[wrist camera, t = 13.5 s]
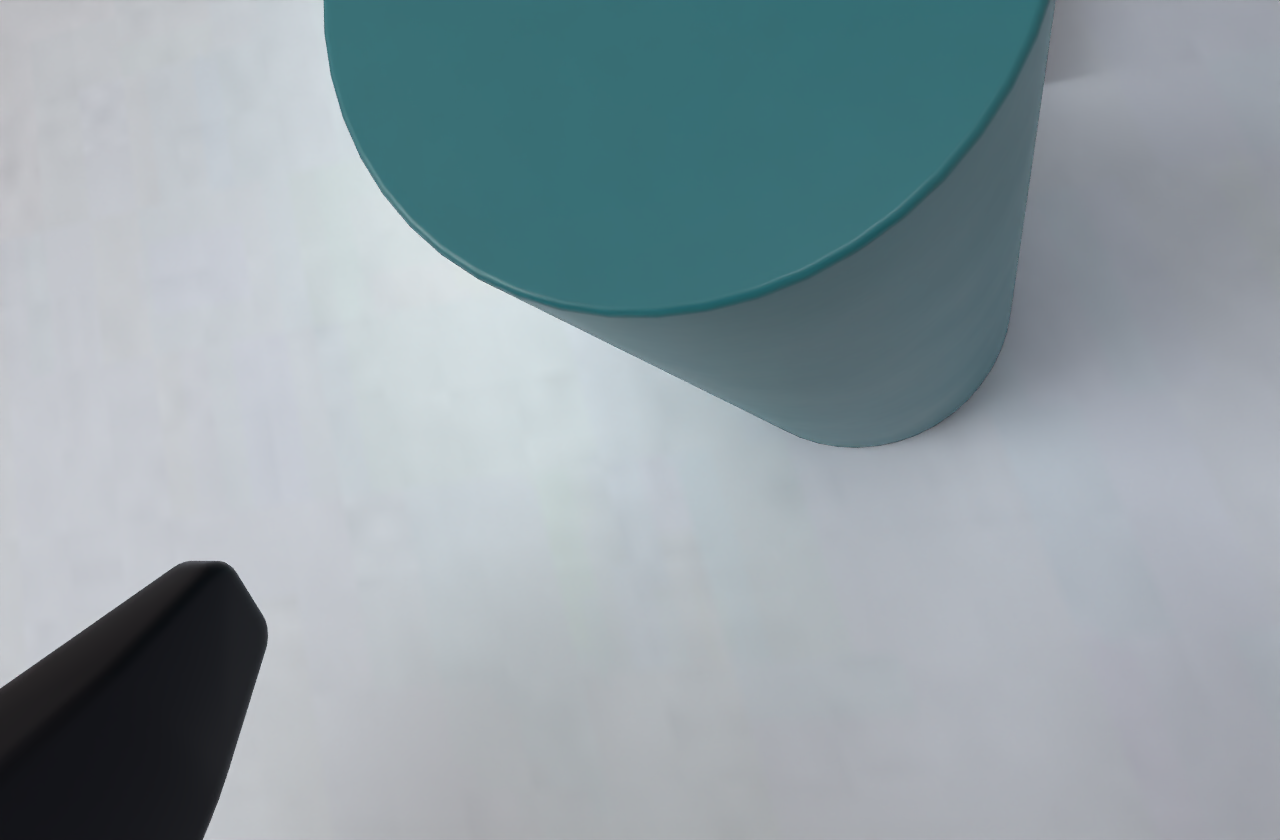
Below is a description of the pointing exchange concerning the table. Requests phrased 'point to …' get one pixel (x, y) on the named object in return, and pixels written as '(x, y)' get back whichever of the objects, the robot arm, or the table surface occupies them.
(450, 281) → the table surface
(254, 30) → the table surface
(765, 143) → the jug
